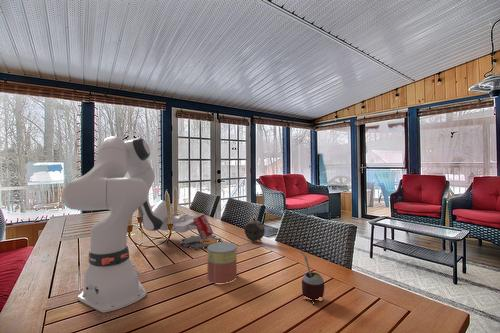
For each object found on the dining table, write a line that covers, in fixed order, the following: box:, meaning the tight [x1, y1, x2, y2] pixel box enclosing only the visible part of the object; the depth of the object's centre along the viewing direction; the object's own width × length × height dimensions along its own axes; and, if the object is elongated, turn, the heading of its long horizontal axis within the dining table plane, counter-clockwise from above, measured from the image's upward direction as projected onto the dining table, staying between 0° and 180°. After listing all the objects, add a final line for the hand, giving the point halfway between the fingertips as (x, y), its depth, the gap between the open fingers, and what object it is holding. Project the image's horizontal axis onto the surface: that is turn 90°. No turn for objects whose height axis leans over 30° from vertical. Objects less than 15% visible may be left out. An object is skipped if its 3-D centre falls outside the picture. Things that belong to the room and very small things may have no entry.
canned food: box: [206, 241, 238, 283], centre depth 97 cm, size 11×11×12 cm
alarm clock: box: [244, 212, 266, 242], centre depth 139 cm, size 11×5×16 cm, turn 58°
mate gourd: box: [299, 248, 325, 302], centre depth 82 cm, size 8×8×15 cm
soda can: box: [193, 212, 214, 240], centre depth 139 cm, size 7×7×13 cm
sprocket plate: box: [179, 234, 222, 250], centre depth 138 cm, size 22×22×2 cm
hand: (201, 225), depth 138 cm, fingers open, 8 cm apart
